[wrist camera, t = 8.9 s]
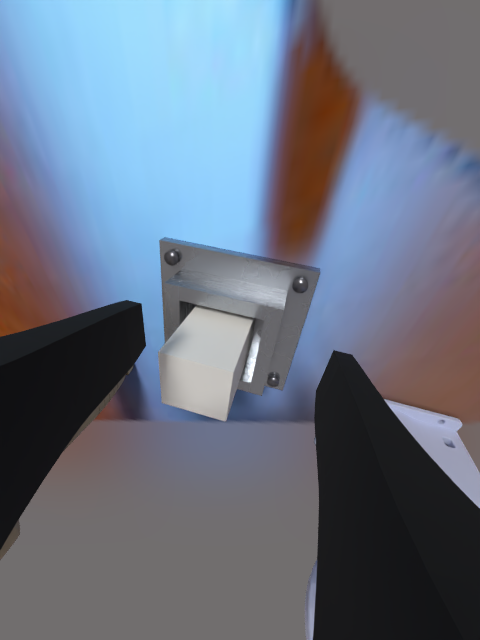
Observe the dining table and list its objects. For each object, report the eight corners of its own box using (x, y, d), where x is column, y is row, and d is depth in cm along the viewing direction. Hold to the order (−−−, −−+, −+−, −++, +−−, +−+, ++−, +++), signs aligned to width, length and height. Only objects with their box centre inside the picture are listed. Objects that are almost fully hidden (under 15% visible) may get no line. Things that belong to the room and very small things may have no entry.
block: (258, 305, 18) (233, 372, 12) (250, 348, 20) (225, 421, 14) (205, 293, 18) (158, 352, 13) (203, 336, 21) (161, 402, 15)
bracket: (319, 268, 16) (321, 290, 13) (283, 383, 22) (279, 416, 19) (165, 237, 18) (136, 251, 15) (169, 353, 24) (150, 379, 21)
